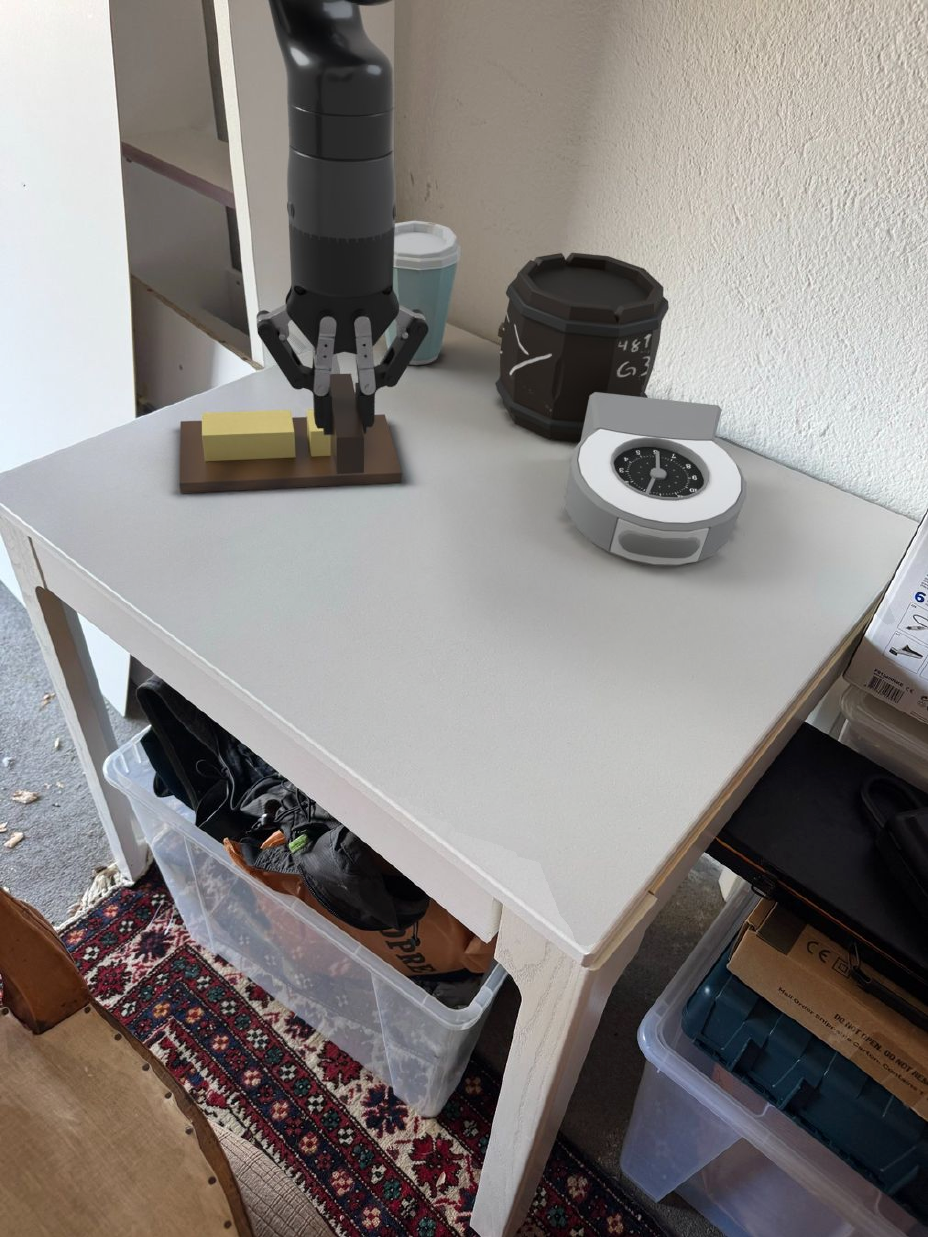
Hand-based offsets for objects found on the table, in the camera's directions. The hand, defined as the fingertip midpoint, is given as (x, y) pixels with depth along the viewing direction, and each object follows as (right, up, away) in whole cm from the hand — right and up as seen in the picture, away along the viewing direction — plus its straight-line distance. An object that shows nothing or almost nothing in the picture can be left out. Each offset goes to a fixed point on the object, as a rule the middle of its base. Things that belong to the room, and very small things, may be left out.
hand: (343, 428), depth 77 cm
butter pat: (-5, +2, +20) cm, 21 cm away
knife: (-1, +3, +5) cm, 6 cm away
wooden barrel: (+22, +9, +33) cm, 41 cm away
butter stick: (-12, +2, +19) cm, 23 cm away
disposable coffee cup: (+3, +18, +41) cm, 45 cm away
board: (-8, +1, +21) cm, 22 cm away
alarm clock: (+29, -5, +18) cm, 34 cm away
